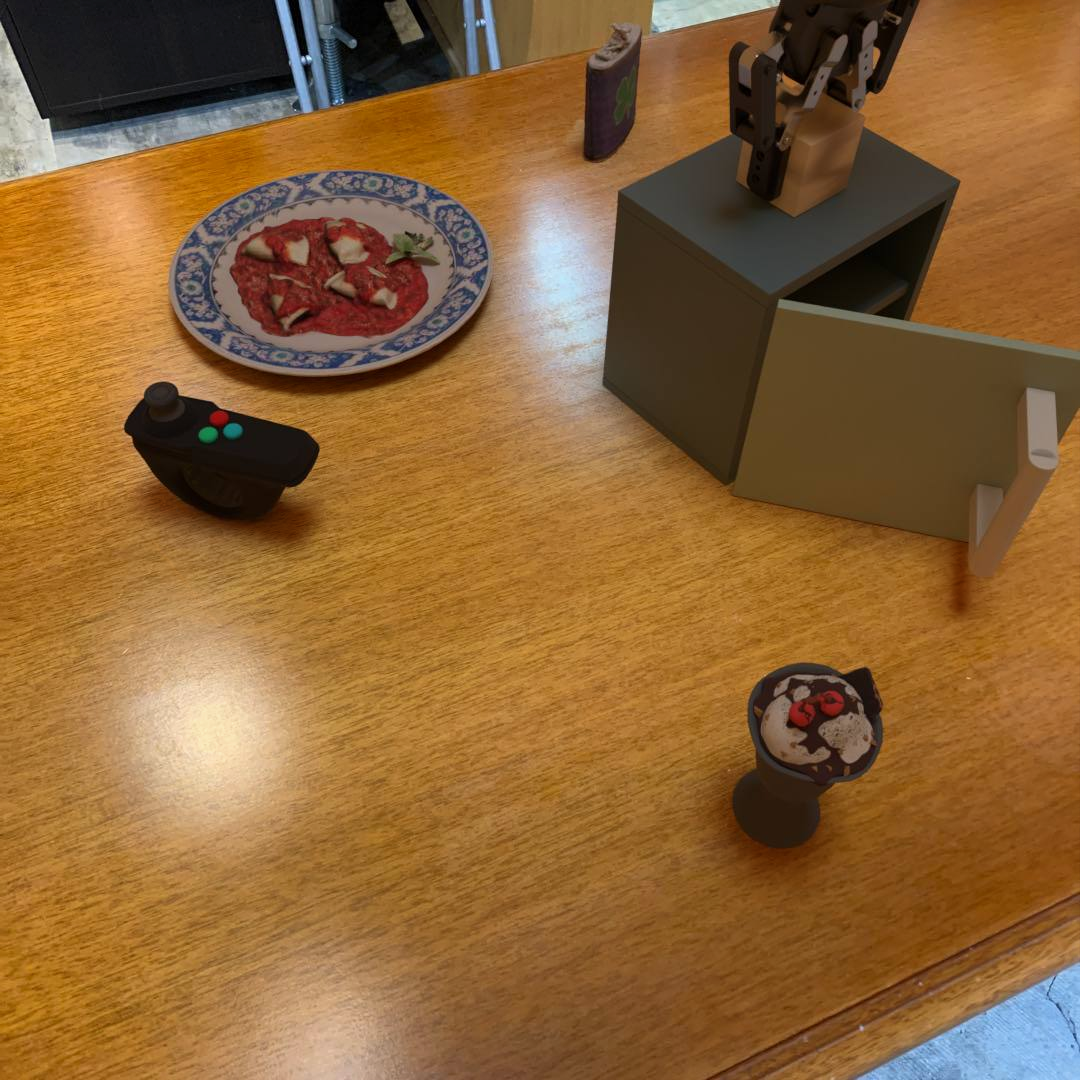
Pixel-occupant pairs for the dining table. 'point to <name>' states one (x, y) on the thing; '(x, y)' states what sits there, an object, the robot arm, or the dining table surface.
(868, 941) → the dining table surface
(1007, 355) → the door
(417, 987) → the dining table surface
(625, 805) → the dining table surface
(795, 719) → the sundae
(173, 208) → the dining table surface
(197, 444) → the controller
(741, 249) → the cupboard
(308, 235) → the ceramic plate
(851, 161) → the block
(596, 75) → the flask
